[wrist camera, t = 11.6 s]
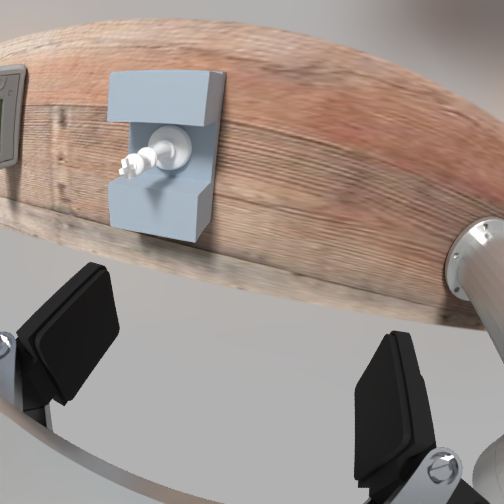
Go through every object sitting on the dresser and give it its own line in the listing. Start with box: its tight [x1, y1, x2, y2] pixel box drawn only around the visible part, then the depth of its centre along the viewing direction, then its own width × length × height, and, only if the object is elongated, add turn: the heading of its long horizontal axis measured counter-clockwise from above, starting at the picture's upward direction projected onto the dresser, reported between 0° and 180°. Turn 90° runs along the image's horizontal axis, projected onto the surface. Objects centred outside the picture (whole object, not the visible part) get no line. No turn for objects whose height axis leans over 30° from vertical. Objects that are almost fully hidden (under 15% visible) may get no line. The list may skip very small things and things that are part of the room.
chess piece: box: [119, 125, 192, 180], centre depth 26 cm, size 5×5×10 cm
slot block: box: [107, 70, 226, 243], centre depth 29 cm, size 10×17×6 cm, turn 172°
